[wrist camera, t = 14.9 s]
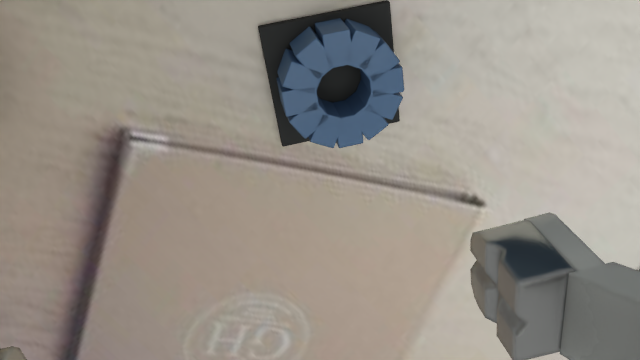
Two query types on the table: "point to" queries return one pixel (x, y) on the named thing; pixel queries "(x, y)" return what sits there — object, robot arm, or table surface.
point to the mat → (338, 79)
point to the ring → (319, 58)
